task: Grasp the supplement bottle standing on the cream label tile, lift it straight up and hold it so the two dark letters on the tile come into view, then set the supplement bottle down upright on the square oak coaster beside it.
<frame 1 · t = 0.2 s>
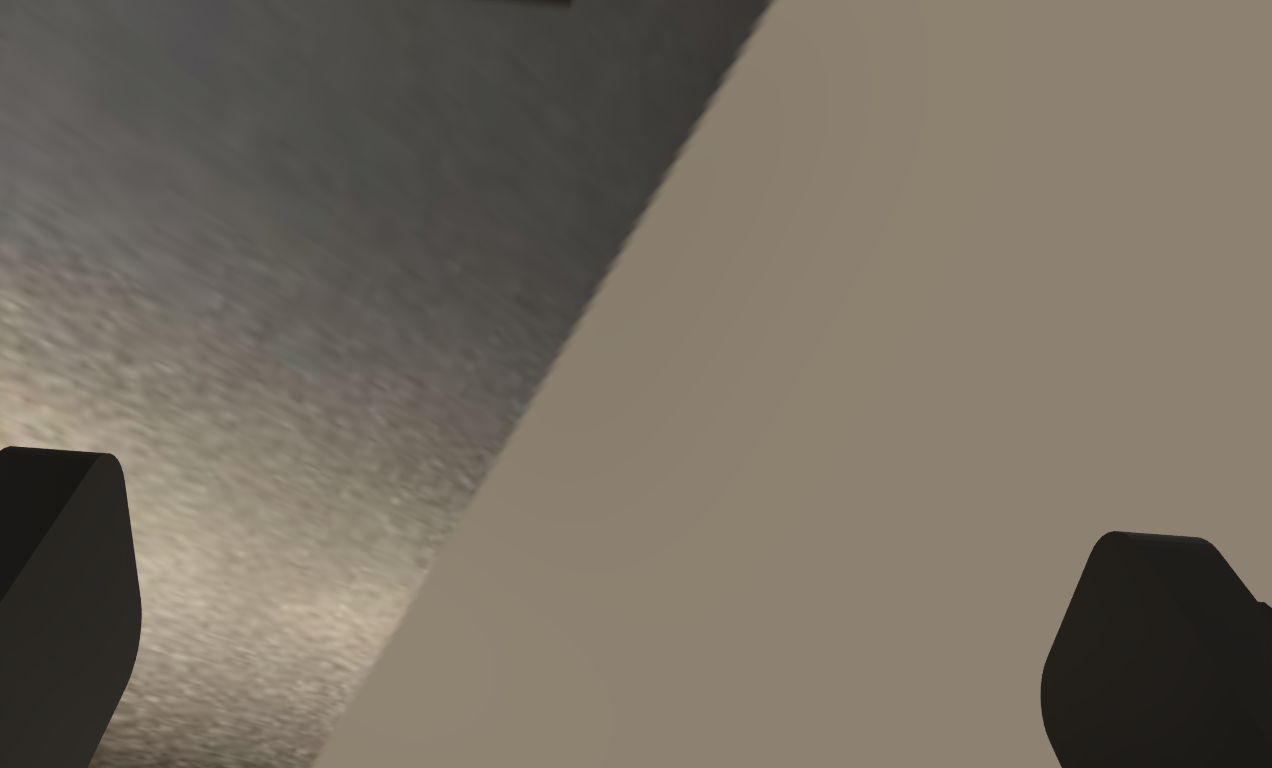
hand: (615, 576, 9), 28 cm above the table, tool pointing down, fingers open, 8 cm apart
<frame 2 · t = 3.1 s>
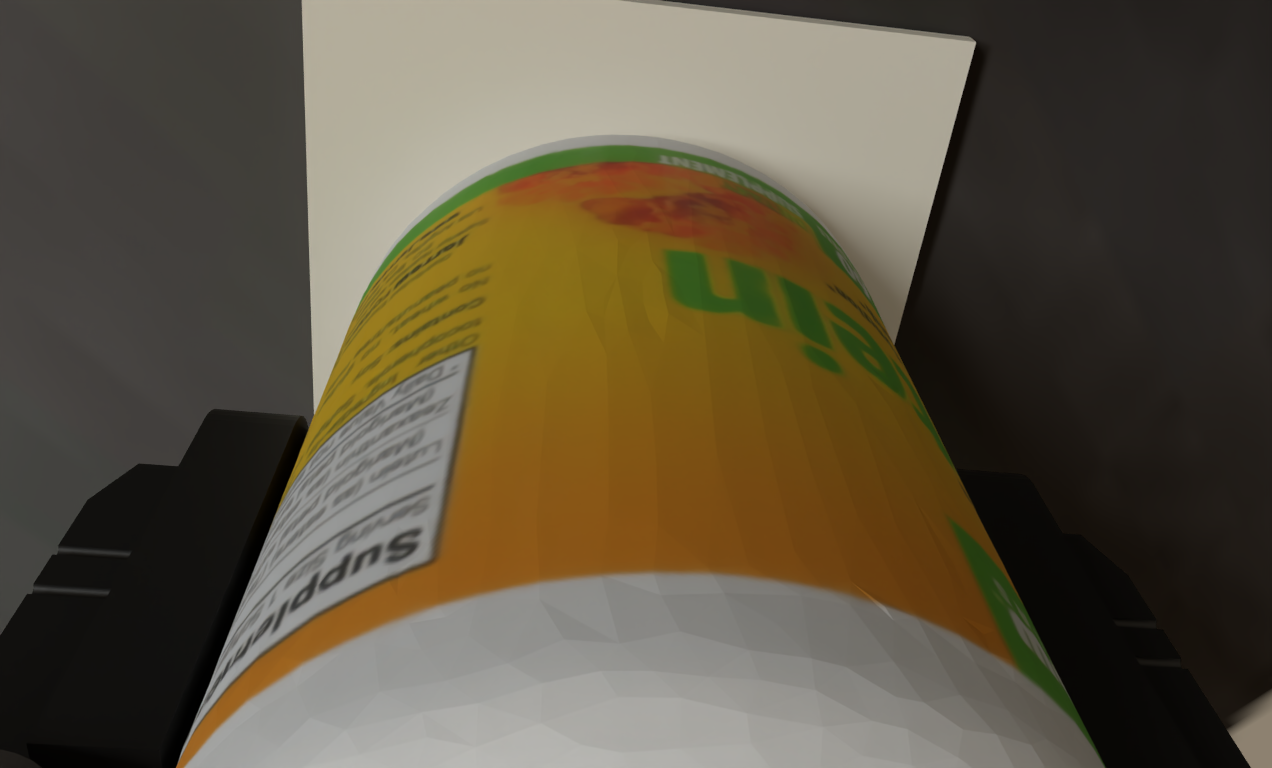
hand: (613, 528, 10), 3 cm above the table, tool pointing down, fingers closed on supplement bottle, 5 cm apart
code tile: (600, 381, 12), on the table
supplement bottle: (615, 362, 12), resting on code tile, touching gripper
when the fingers open (5 cm above the table, at t = 9.6 s): supplement bottle drops 2 cm, resting on oak coaster.
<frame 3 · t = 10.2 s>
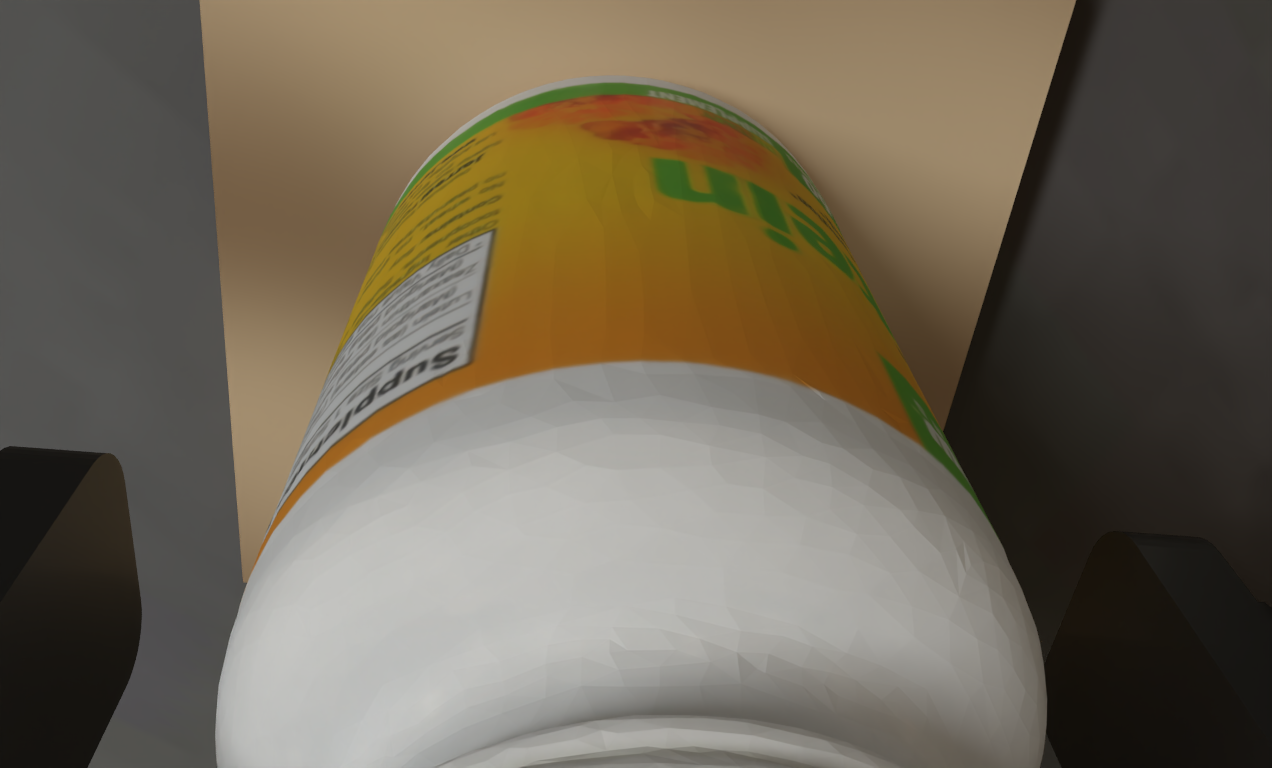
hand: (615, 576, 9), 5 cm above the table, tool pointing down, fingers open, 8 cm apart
oak coaster: (605, 296, 14), on the table
supplement bottle: (610, 285, 13), resting on oak coaster
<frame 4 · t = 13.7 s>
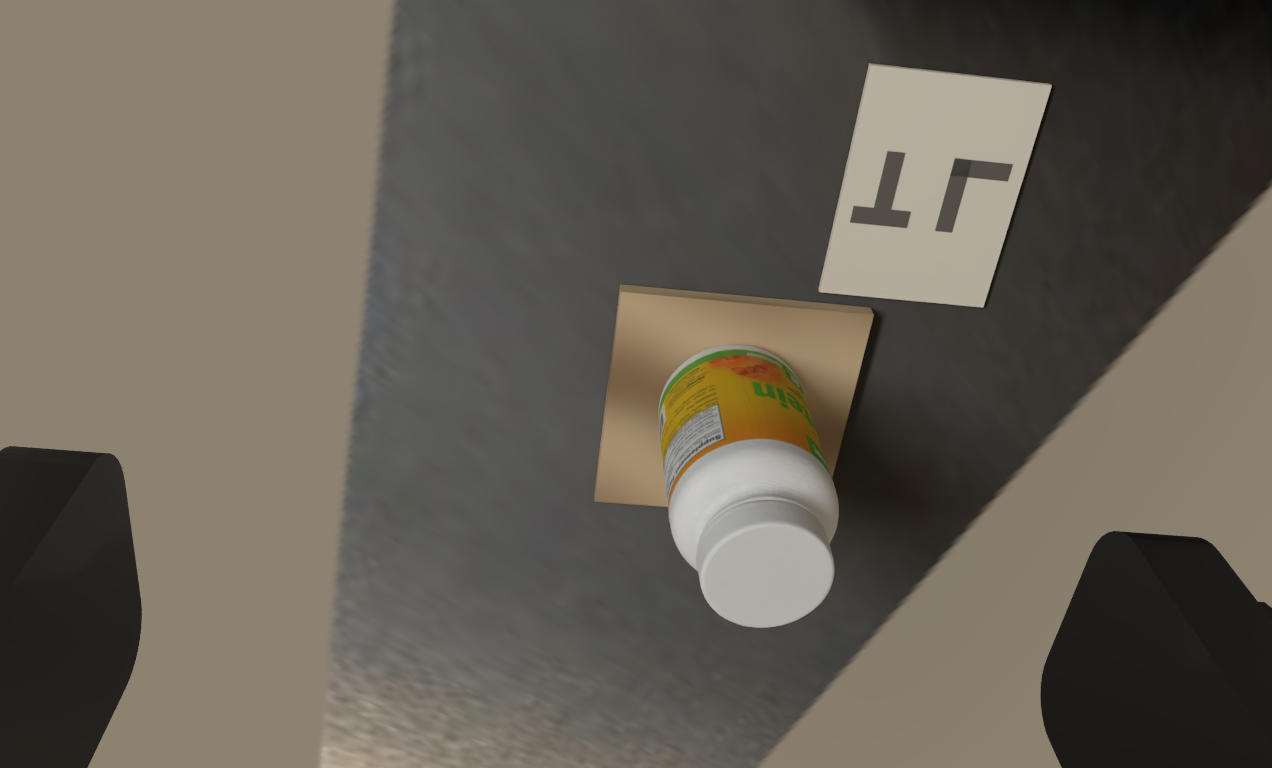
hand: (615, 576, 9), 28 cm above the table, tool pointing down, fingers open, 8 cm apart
oak coaster: (726, 403, 42), on the table
code tile: (928, 191, 38), on the table
supplement bottle: (729, 401, 41), resting on oak coaster
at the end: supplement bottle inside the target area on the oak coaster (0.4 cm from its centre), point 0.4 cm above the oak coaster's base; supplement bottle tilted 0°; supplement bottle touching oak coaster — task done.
